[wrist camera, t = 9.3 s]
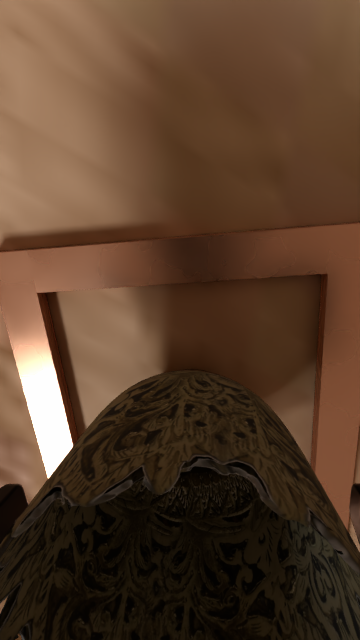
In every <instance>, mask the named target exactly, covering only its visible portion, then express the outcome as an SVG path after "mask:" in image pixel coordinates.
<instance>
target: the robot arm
mask: <svg viewBox="0 0 360 640" xmlns="http://www.w3.org/2000/svg"><path fill="white" fill-rule="evenodd" d="M27 506H28V502H27V499H26V496H25V492H24V489H23V487H22V485H21V484H6V485H4V486H3V487H1V488H0V544H1V542H2V541H3V539H4V538H5V536H6V534H7V533H8V531H9V529H10V528H11V527H12V525H13V524H14V523H15V520H16V519H17V518H18V517H19V516H20V515H21V514H22V513H23V512H24V510H25V509H26V508H27ZM349 512H350V517H351V520H352V523H353V526H354V529H355V532H356V535H357V538H358V541H359V544H360V484H353V485H352V487H351V495H350V505H349Z"/></svg>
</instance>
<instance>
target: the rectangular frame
mask: <svg viewBox="0 0 360 640" xmlns="http://www.w3.org/2000/svg"><path fill="white" fill-rule="evenodd" d="M313 274H322V275H321V292H320V310H319V328H318V345H317V363H316V381H315V398H314V416H313V434H312V451H311V468H312V469H313V471H314V473H315V474H316V476H317V478H318V480H319V481H320V483H321V485H322V487H323V488H324V490H325V492H326V494H327V495H328V497H329V499H330V501H331V502H332V504H333V506H334V508H335V509H336V511H337V513H338V515H339V516H340V518H341V520H342V522H343V524H344V525H345V527H346V529H347V531H348V522H349V513H350V512H349V505H350V495H351V487H352V485H353V478H354V469H355V460H356V451H357V442H358V433H359V424H360V222H351V223H339V224H327V225H315V226H302V227H290V228H278V229H266V230H254V231H241V232H229V233H217V234H205V235H193V236H180V237H168V238H156V239H144V240H132V241H119V242H107V243H95V244H83V245H71V246H58V247H46V248H34V249H22V250H10V251H0V306H1V310H2V313H3V317H4V320H5V324H6V328H7V331H8V335H9V338H10V342H11V346H12V349H13V353H14V357H15V360H16V364H17V367H18V371H19V375H20V378H21V382H22V385H23V389H24V393H25V396H26V400H27V404H28V407H29V411H30V414H31V418H32V422H33V425H34V429H35V432H36V436H37V440H38V443H39V447H40V451H41V454H42V458H43V461H44V465H45V469H46V472H47V476H48V479H49V477H50V476H51V475H52V473H53V472H54V471H55V469H56V468H57V467H58V465H59V464H60V463H61V461H62V460H63V459H64V457H65V456H66V455H67V453H68V452H69V451H70V450H71V448H72V447H73V446H74V444H75V443H76V442H77V441H78V439H79V438H78V433H77V429H76V425H75V420H74V416H73V411H72V407H71V403H70V398H69V394H68V389H67V385H66V380H65V376H64V372H63V367H62V363H61V358H60V354H59V350H58V345H57V341H56V336H55V332H54V327H53V323H52V319H51V314H50V310H49V305H48V301H47V297H46V292H58V291H73V290H88V289H103V288H118V287H133V286H148V285H163V284H178V283H193V282H208V281H223V280H238V279H253V278H268V277H283V276H298V275H313Z"/></svg>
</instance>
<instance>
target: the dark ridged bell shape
mask: <svg viewBox="0 0 360 640" xmlns="http://www.w3.org/2000/svg"><path fill="white" fill-rule="evenodd" d="M7 596H8V598H7ZM6 598H7V600H6V603H5V605H4V607H3V609H2V611H1V613H0V640H15V639H17V638H18V635H17V634H18V633H19V634H20V635H21V638H22V640H360V552H359V551H358V549H357V547H356V545H355V543H354V542H353V540H352V538H351V536H350V534H349V533H348V531H347V529H346V527H345V525H344V524H343V522H342V520H341V518H340V516H339V515H338V513H337V511H336V509H335V508H334V506H333V504H332V502H331V501H330V499H329V497H328V495H327V494H326V492H325V490H324V488H323V487H322V485H321V483H320V481H319V480H318V478H317V476H316V474H315V473H314V471H313V469H312V468H311V466H310V464H309V462H308V461H307V459H306V457H305V456H304V454H303V452H302V451H301V449H300V448H299V446H298V445H297V443H296V441H295V440H294V438H293V437H292V435H291V433H290V432H289V430H288V429H287V428H286V426H285V425H284V424H283V422H282V421H281V420H280V418H279V417H278V416H277V415H276V414H275V412H274V411H273V410H272V409H271V408H270V407H269V406H268V405H267V404H266V403H265V402H264V401H263V400H262V399H261V398H260V397H258V396H257V395H256V394H254V393H253V392H252V391H250V390H249V389H247V388H246V387H244V386H242V385H240V384H239V383H237V382H235V381H233V380H231V379H229V378H226V377H223V376H220V375H217V374H213V373H209V372H206V371H203V370H197V369H188V370H181V371H172V372H167V373H162V374H159V375H155V376H153V377H150V378H148V379H145V380H143V381H141V382H139V383H137V384H135V385H133V386H131V387H130V388H128V389H127V390H125V391H124V392H123V393H121V394H120V395H119V396H118V397H116V398H115V399H114V400H113V401H112V402H111V403H110V404H109V405H108V406H107V407H106V408H105V409H104V410H103V411H102V412H101V413H100V414H99V415H98V416H97V417H96V419H95V420H94V421H93V422H92V423H91V425H90V426H89V427H88V428H87V429H86V431H85V432H84V433H83V434H82V435H81V437H80V438H79V439H78V441H77V442H76V443H75V444H74V446H73V447H72V448H71V450H70V451H69V452H68V453H67V455H66V456H65V457H64V459H63V460H62V461H61V463H60V464H59V465H58V467H57V468H56V469H55V471H54V472H53V473H52V475H51V476H50V477H49V479H48V480H47V481H46V483H45V484H44V485H43V486H42V488H41V489H40V490H39V492H38V493H37V494H36V496H35V497H34V498H33V500H32V501H31V502H30V504H29V505H28V506H27V508H26V509H25V510H24V512H23V513H22V514H21V515H20V516H19V517H18V518H17V519H16V520H15V523H14V524H13V525H12V527H11V528H10V529H9V531H8V533H7V534H6V536H5V538H4V539H3V541H2V542H1V544H0V603H1V602H2V601H3V600H5V599H6ZM21 630H22V631H21Z"/></svg>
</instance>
